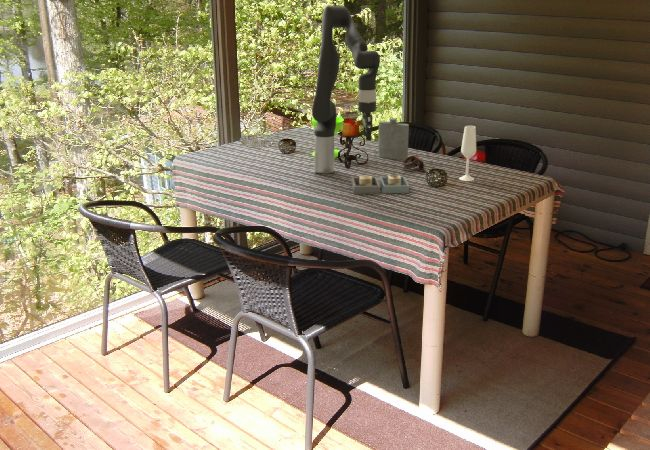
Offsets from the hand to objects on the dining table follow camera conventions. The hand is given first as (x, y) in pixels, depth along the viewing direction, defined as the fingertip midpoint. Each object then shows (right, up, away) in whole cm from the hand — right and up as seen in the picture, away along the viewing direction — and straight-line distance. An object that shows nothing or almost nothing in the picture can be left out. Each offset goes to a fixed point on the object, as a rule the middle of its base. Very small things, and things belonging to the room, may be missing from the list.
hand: (367, 138), depth 311 cm
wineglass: (-17, -1, +62) cm, 64 cm away
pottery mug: (+24, -11, +35) cm, 44 cm away
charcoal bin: (0, -22, +6) cm, 23 cm away
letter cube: (+12, -21, +7) cm, 25 cm away
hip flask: (+16, -3, +56) cm, 58 cm away
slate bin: (+12, -21, +7) cm, 26 cm away
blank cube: (0, -21, +6) cm, 22 cm away
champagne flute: (+46, -16, +22) cm, 54 cm away
